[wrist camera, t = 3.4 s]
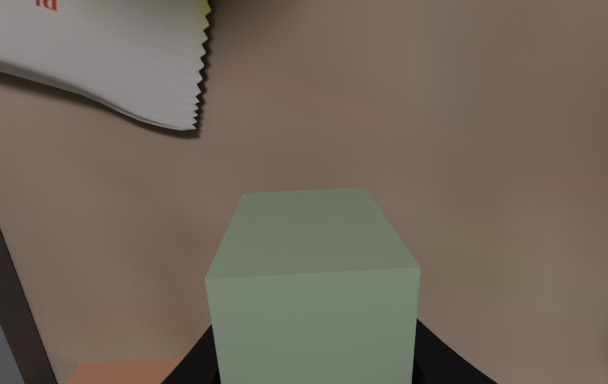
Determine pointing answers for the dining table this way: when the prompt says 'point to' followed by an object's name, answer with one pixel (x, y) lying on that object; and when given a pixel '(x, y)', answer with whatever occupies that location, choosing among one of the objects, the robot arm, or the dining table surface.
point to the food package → (111, 52)
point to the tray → (18, 332)
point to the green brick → (313, 292)
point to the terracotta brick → (124, 371)
